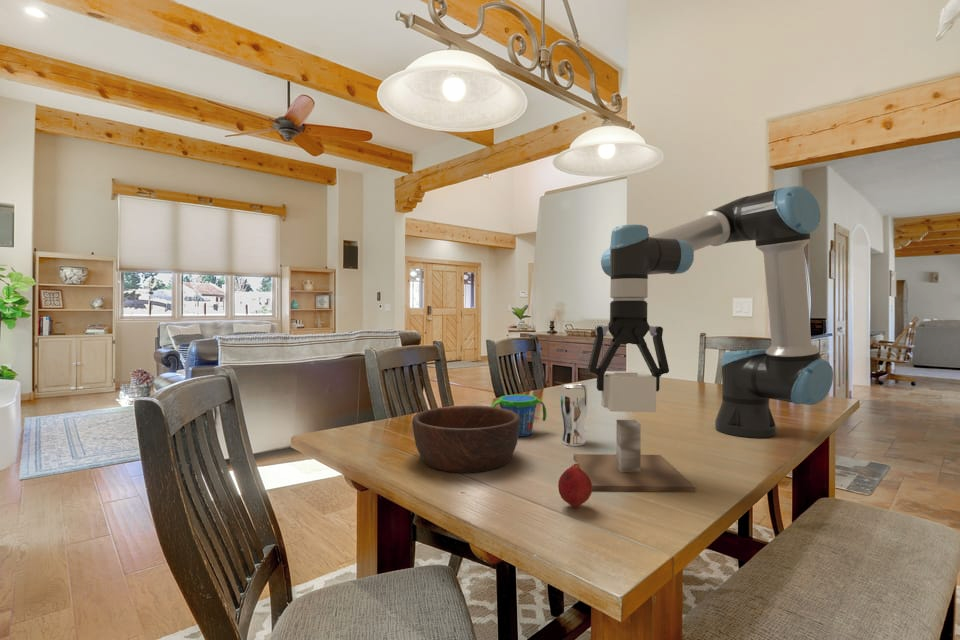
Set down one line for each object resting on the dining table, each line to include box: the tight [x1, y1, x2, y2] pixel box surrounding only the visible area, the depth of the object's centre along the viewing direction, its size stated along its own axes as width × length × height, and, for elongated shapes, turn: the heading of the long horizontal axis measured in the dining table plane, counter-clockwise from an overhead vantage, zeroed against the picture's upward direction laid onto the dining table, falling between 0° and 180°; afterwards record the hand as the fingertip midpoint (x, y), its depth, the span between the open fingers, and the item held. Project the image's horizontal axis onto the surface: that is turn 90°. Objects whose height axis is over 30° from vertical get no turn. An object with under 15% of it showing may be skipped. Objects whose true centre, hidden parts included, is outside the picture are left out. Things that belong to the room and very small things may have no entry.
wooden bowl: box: [411, 405, 520, 473], centre depth 114 cm, size 25×25×10 cm
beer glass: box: [559, 383, 588, 447], centre depth 127 cm, size 7×7×15 cm
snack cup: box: [491, 394, 547, 437], centre depth 136 cm, size 16×10×10 cm
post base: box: [573, 419, 696, 493], centre depth 104 cm, size 20×20×11 cm
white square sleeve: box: [604, 370, 657, 413], centre depth 103 cm, size 9×9×7 cm
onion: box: [557, 461, 593, 509], centre depth 86 cm, size 6×6×8 cm
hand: (627, 406), depth 103 cm, fingers closed on white square sleeve, 9 cm apart
